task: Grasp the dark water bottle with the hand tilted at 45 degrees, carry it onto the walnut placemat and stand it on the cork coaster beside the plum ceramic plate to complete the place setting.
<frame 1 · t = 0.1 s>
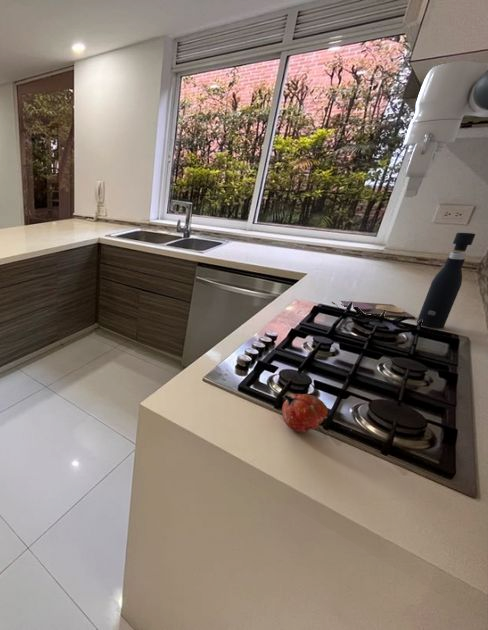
hand: (410, 196, 87), 41 cm above the counter, tool pointing down, fingers open, 8 cm apart
dark water bottle: (429, 325, 113), on the counter
plum plate: (355, 308, 128), resting on placemat
placemat: (369, 310, 127), on the counter
pomegranate: (300, 428, 65), on the counter
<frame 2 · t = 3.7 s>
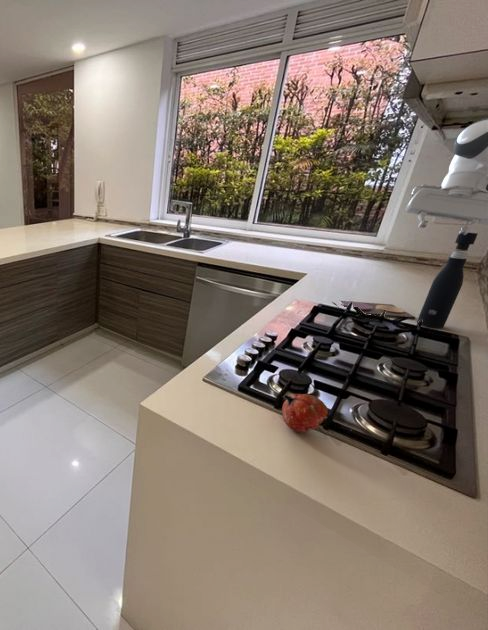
hand: (441, 230, 104), 31 cm above the counter, tool tilted 30°, fingers open, 8 cm apart
dark water bottle: (429, 325, 113), on the counter, touching gripper
everything else where it was.
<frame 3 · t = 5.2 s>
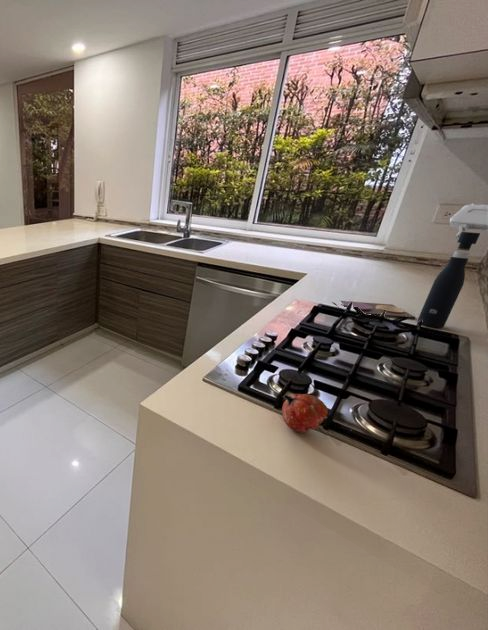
hand: (478, 240, 105), 27 cm above the counter, tool tilted 45°, fingers open, 8 cm apart
dark water bottle: (429, 324, 113), on the counter
everything else where it was.
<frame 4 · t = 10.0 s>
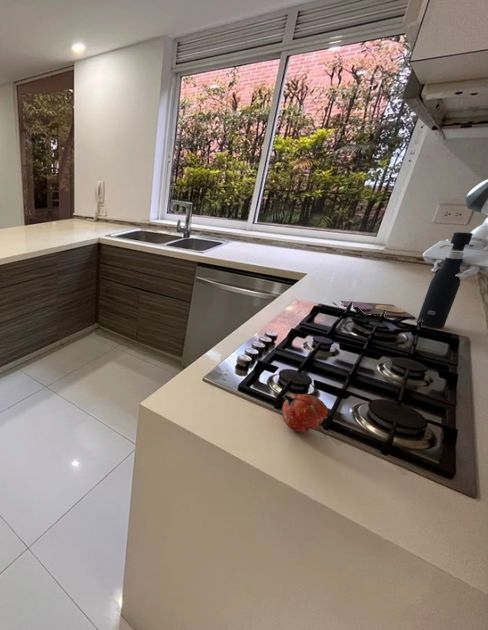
hand: (445, 275, 107), 17 cm above the counter, tool tilted 45°, fingers closed on dark water bottle, 5 cm apart
dark water bottle: (429, 325, 113), on the counter, touching gripper
everything else where it was.
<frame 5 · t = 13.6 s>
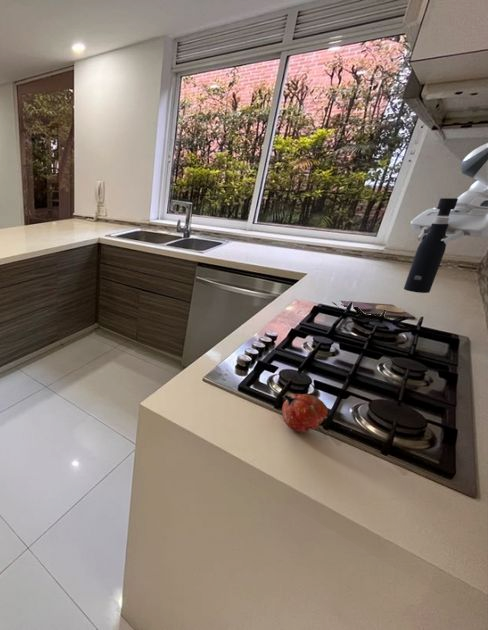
hand: (431, 241, 110), 27 cm above the counter, tool tilted 45°, fingers closed on dark water bottle, 5 cm apart
dark water bottle: (416, 290, 116), point 10 cm above the counter, touching gripper
everything else where it was.
when the fingers open (18 cm above the counter, at t = 17.3 s): dark water bottle stays where it is, resting on placemat.
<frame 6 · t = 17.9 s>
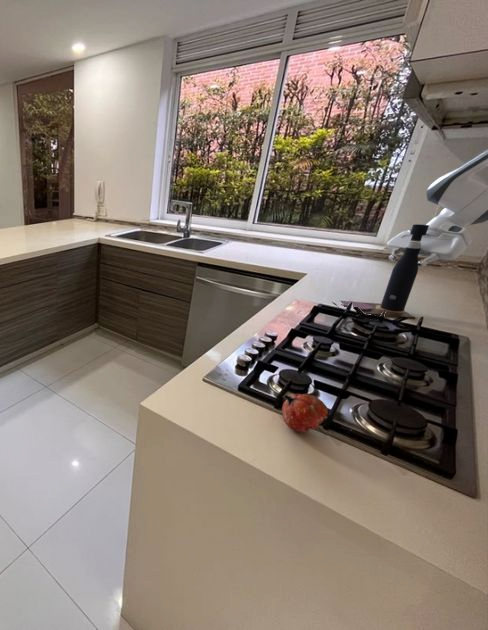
hand: (405, 262, 118), 19 cm above the counter, tool tilted 45°, fingers open, 8 cm apart
dark water bottle: (391, 309, 125), point 1 cm above the counter, touching placemat
everything else where it was.
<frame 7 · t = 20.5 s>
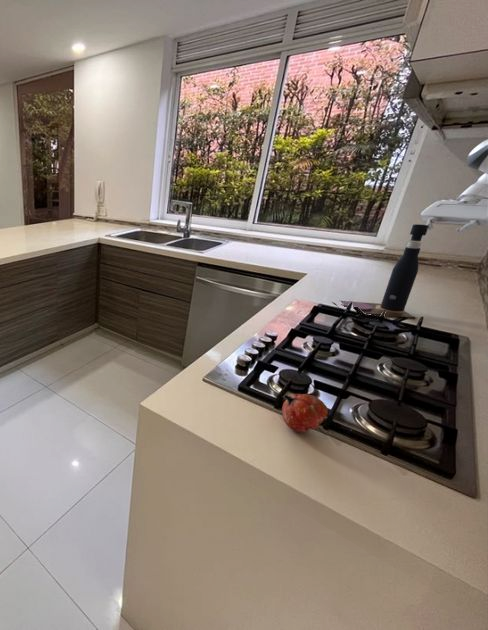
hand: (441, 230, 116), 29 cm above the counter, tool tilted 45°, fingers open, 8 cm apart
nothing on the counter moved.
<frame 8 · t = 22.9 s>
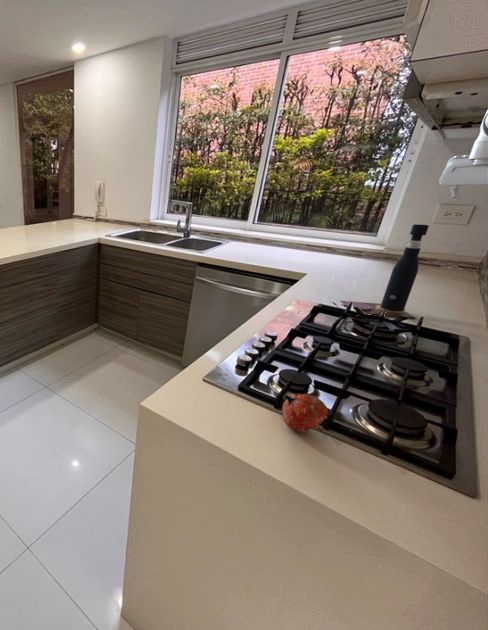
hand: (473, 200, 107), 39 cm above the counter, tool pointing down, fingers open, 8 cm apart
nothing on the counter moved.
at the end: dark water bottle 0.4 cm from the target spot, point 1.0 cm above the counter; dark water bottle tilted 0°; the gripper is holding nothing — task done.
